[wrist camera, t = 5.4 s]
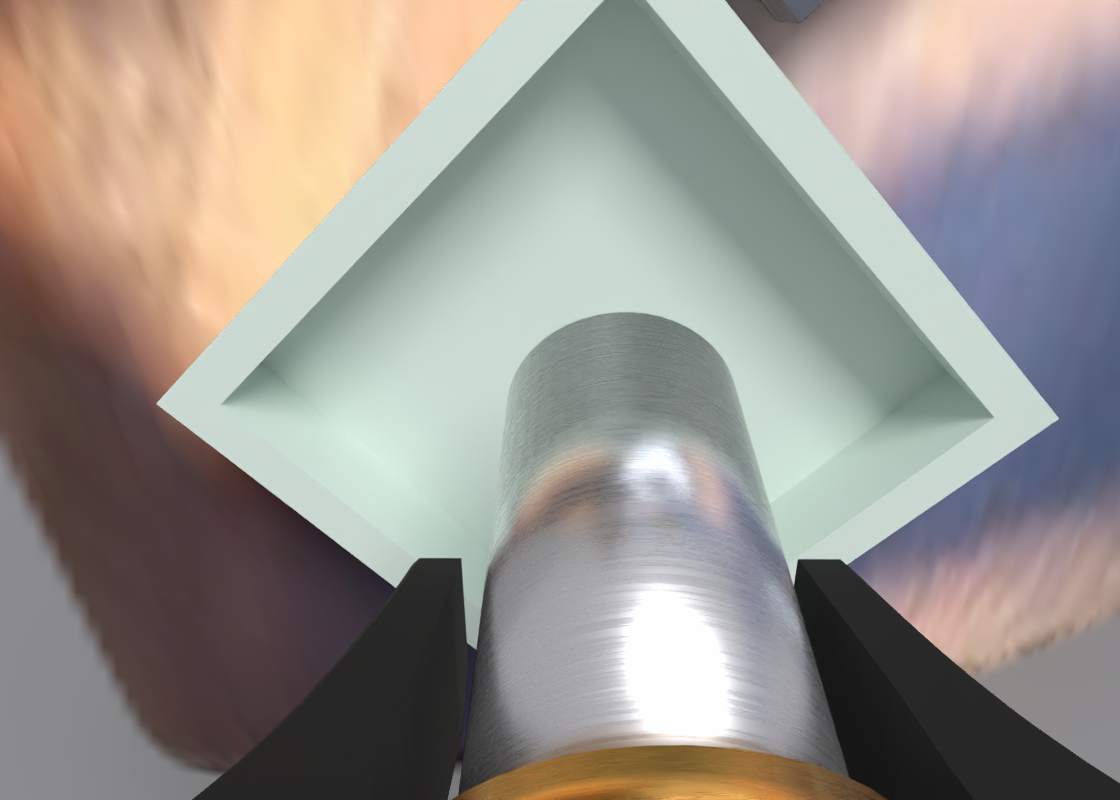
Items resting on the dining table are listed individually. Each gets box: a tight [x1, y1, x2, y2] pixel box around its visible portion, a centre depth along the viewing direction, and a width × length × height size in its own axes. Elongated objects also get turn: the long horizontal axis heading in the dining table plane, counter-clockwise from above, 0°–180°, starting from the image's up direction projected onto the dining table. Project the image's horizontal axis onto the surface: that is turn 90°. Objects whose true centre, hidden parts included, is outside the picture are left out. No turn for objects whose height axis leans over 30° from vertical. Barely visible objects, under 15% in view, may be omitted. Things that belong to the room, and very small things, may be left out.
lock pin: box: [452, 312, 888, 800], centre depth 11 cm, size 5×5×9 cm
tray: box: [156, 0, 1059, 649], centre depth 20 cm, size 14×14×4 cm
